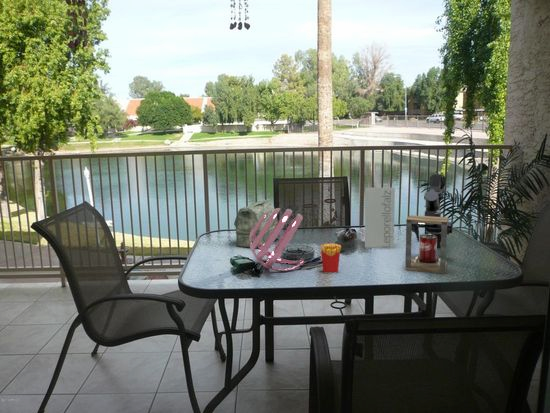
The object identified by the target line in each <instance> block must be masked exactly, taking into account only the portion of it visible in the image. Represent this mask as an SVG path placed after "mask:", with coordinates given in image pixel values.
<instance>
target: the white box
mask: <svg viewBox="0 0 550 413" xmlns="http://www.w3.org/2000/svg"><path fill="white" fill-rule="evenodd" d="M395 189H396V188H395V187H365V190H364V192H365V194H364V197H365V198H364V248H370V249H394V248H395V246H394V245H395V244H394V243H395V199H396V198H395V196H396V193H395V192H396V190H395Z"/></svg>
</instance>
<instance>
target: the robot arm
mask: <svg viewBox="0 0 550 413" xmlns="http://www.w3.org/2000/svg"><path fill="white" fill-rule="evenodd" d="M447 180H448V179H447V177H446V176H444V175H443V174H441V173H433V174H431V176H429V178H428V185H429V187H428V188H427V190H426V192H425V193H424V197H423V198H424V199H423V200H424V201H425V205H426V207H425V211H424V216H433V217H442V215H441V214H442V210H440V209H441V201H443V200H444V196H445V195H444V192H445V190H446V187H447V186H448V184H447ZM453 225H454V224H453V222H452V221H448V223H447V236H448V235H450V234H453V229H454V226H453ZM420 228H423V229H424V234H431V235H435V236H436V237H437V249H438V248H441V230H442V224H428V223H412V233H414V234H415V236H416V240H417V243H420V231H419V229H420Z"/></svg>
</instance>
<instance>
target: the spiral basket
mask: <svg viewBox="0 0 550 413" xmlns="http://www.w3.org/2000/svg"><path fill="white" fill-rule="evenodd" d="M280 211H281V208H279V207H276V208H275V210H274V211H273V213H272V214H271V216H270V217H269V219H268V221H267V222H266V224H265V225H264V227H263V228H262V230H261V231H260V233H259V234H258V236H257V237H256V236H255V233H256V231H257V230H258V228H259V226H260V225H261V223H262V222H263V220H264V219H265V217H266V216H267V214H268V212H269V211H267V212H265V213H264V214H263V215H262V217H261V218H260V220H259V221H258V223H257V224H256V226H255V228H254V227H253V228H252V229H251V231H250V236H249V239H250V247H249V248H250V251H251V253H252V254H253V256H254V258H255V260H256V261H257V262H258V263H260V265H262V266H263V267H264V268H266V269H267V270H271V271H275V272H289V271H290V272H291V271H293V270H295V269H297V268H299V267H300V266H302V265H303V264H304V262H305V259H303V258H302V259H298V260H288V259H284V258H282V257H281V255H282V254H283V252H284V251H285V249H286V247H287V246H288V245H289V243H290V241H291V240H292V238H293V236H294V235H295V233H296V232H297V230H298V228H299V227H300V224H301V223H302V221H303V219H304V218H303V215H302V214H300V213H297V214H296V215H295V217H294V218H293V219H292V221H291V222H290V224H289V225H288V226H287V228H286V229H285V230H284V233H282V235H281V237H280V238H279V240H278V242H277V243H276V245H275V246H274V248H273V250H272V251H269V250H270V248H271V247H272V245H273V244H274V243H275V241H276V240H277V239H278V238H277V236H278V235H279V236H280V233H281V232H282V230H283V229H284V227H285V225H286V223H288V222H287V221H288V220H290V217H291V215H292V213H293V209H291V208H286V210H285V211H284V212H283V214H282V215H281V216H280V218H279V220H278V223H277V224H276V226H275V227H274V229H273V230H272V232H271V233H270V235H269V237H268V238H267V240H266V241H265V243H264V244H263V245H261V244H260V241H261V239H262V237H263V236H264V234H265V233H266V231H267V230H268V228H269V227H270V225H271V224H272V222H273V220H274V219H275V217H276V216H277V217H278V215H279V212H280ZM252 237H253V239H254V242H253V244H252ZM276 238H277V239H276ZM256 247H258V248H256ZM255 249H258V250H259V251H258V253H256V251H255ZM265 256H267V257H266V258H267V260H266V261H265V262H264V261H263V258H264V257H265ZM276 262H277V263H282V264H286V263H288V264H289V265H291V264H292V265H293V264H297V265H295V266H292V267H290V268H281V269H280V268H276V267H274V265H275V264H276Z"/></svg>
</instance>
